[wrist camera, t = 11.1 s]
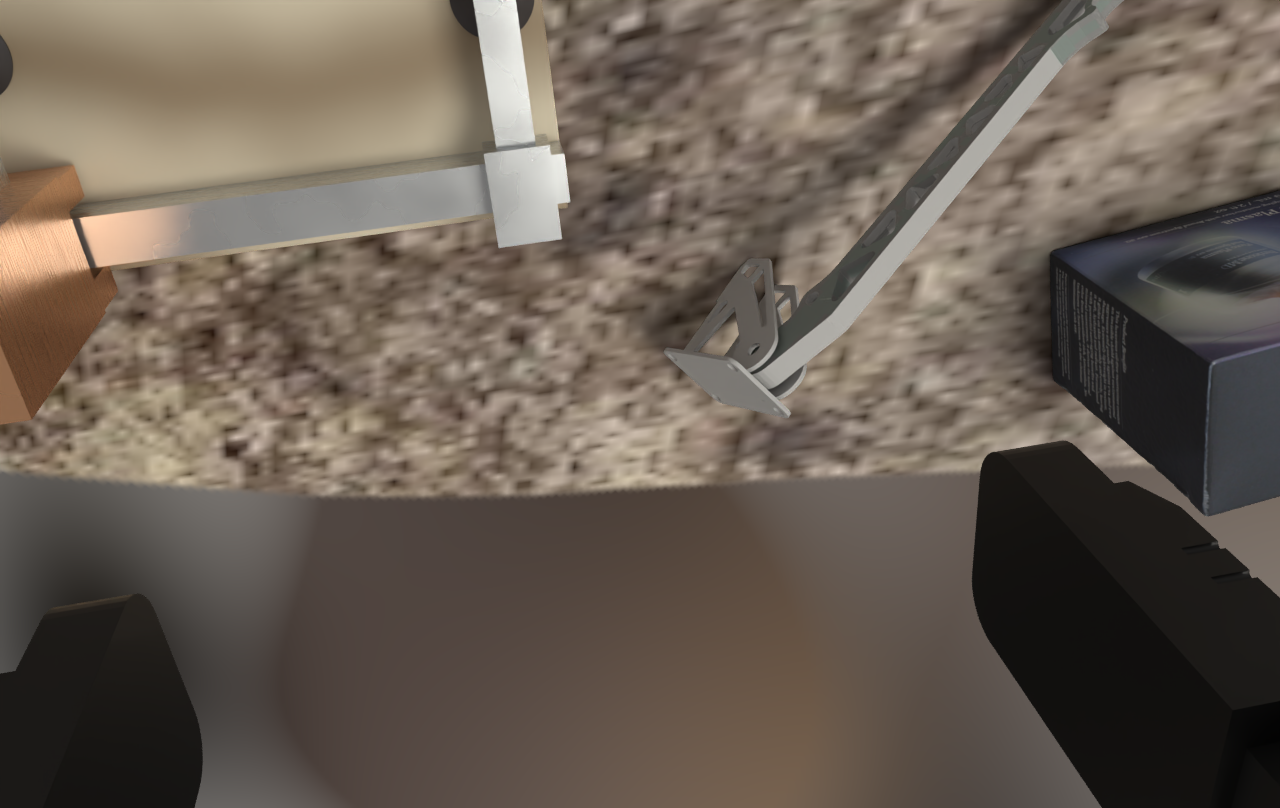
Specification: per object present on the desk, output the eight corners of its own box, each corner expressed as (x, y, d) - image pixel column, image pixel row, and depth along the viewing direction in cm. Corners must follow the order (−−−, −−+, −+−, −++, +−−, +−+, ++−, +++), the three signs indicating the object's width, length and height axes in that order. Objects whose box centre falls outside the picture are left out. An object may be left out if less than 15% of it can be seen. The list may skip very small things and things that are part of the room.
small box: (1301, 172, 42) (1541, 267, 33) (1287, 318, 45) (1502, 442, 36) (1045, 243, 41) (1216, 360, 32) (1049, 386, 45) (1206, 528, 36)
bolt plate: (-204, -123, 30) (-229, -121, 28) (514, -194, 32) (517, -195, 30) (-34, 279, 35) (-49, 293, 34) (564, 196, 37) (568, 208, 36)
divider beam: (-159, 38, 31) (-214, 57, 28) (536, -42, 33) (544, -30, 30) (-48, 292, 34) (-88, 330, 32) (567, 207, 36) (577, 236, 34)
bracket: (658, 349, 39) (830, 377, 30) (960, -72, 43) (1189, -156, 34) (715, 401, 40) (895, 442, 31) (1002, -11, 44) (1233, -77, 35)
